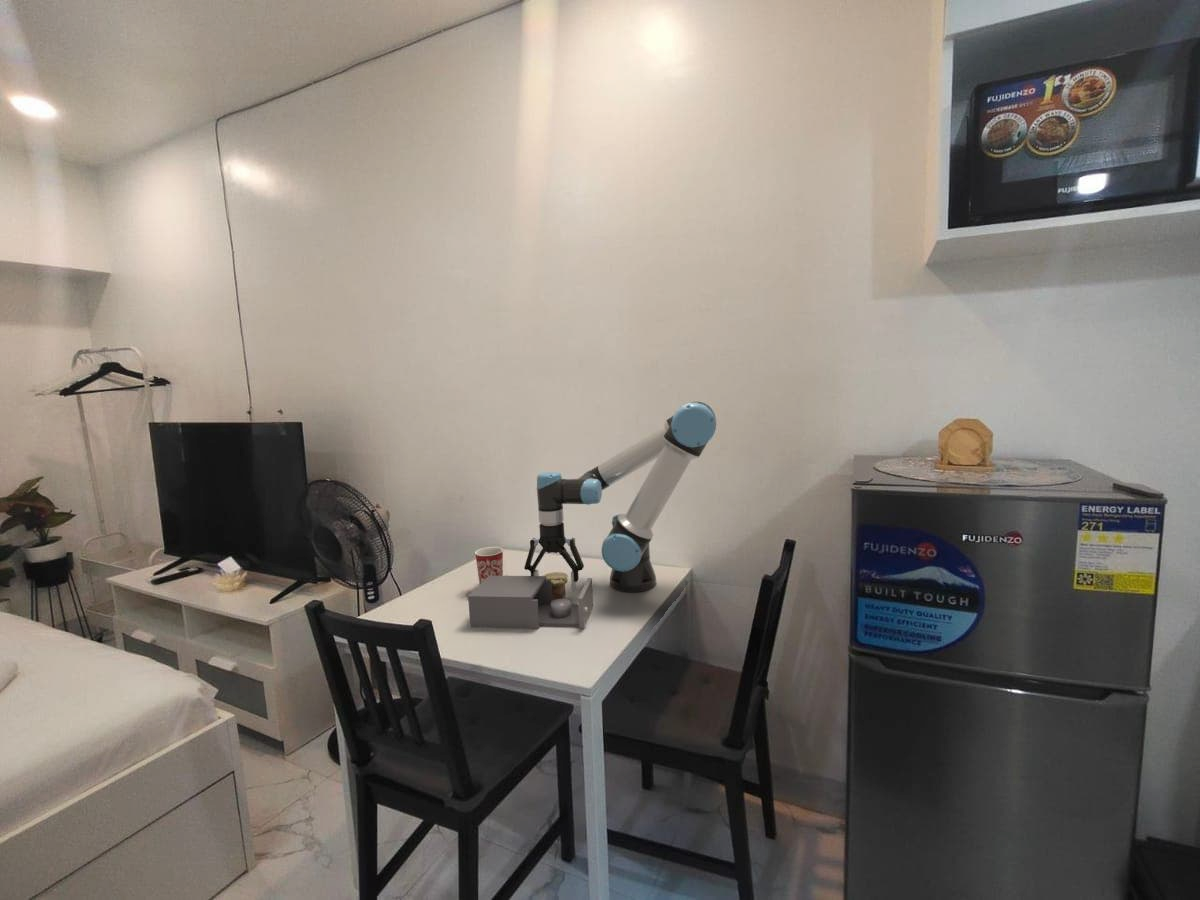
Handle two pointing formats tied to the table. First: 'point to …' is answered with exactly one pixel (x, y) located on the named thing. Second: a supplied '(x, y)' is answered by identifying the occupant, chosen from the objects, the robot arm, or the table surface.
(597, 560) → the table surface
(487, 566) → the mug
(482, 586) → the housing
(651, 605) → the table surface
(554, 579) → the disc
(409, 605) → the table surface
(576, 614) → the tray
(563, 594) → the brown wooden cube
